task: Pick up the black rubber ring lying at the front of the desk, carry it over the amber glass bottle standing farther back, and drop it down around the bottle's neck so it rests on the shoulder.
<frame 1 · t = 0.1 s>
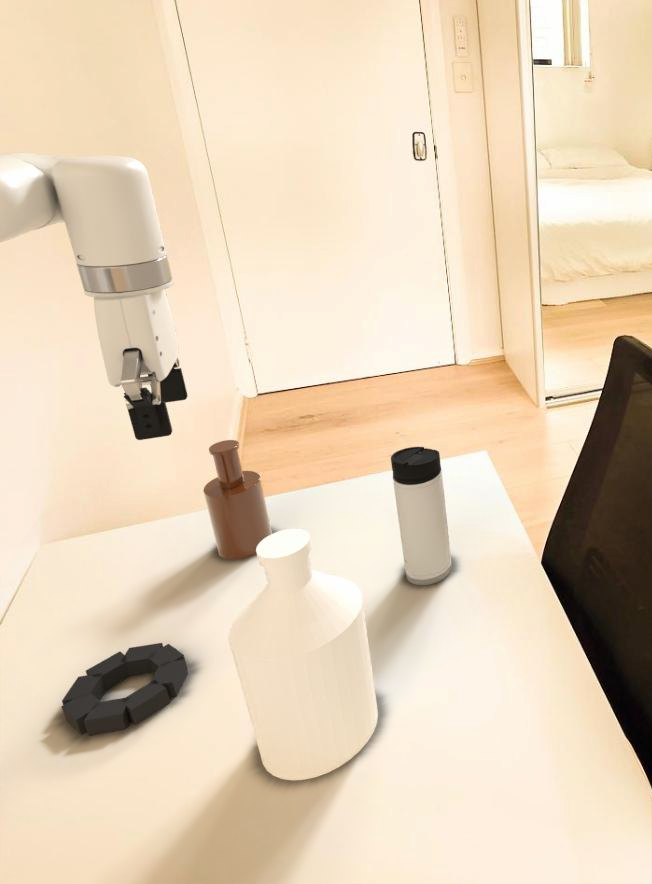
hand: (163, 417, 79), 30 cm above the table, tool pointing down, fingers open, 9 cm apart
bottle: (322, 733, 75), on the table
rubber ring: (130, 695, 79), on the table
amber bottle: (246, 545, 104), on the table
travel mug: (428, 573, 100), on the table
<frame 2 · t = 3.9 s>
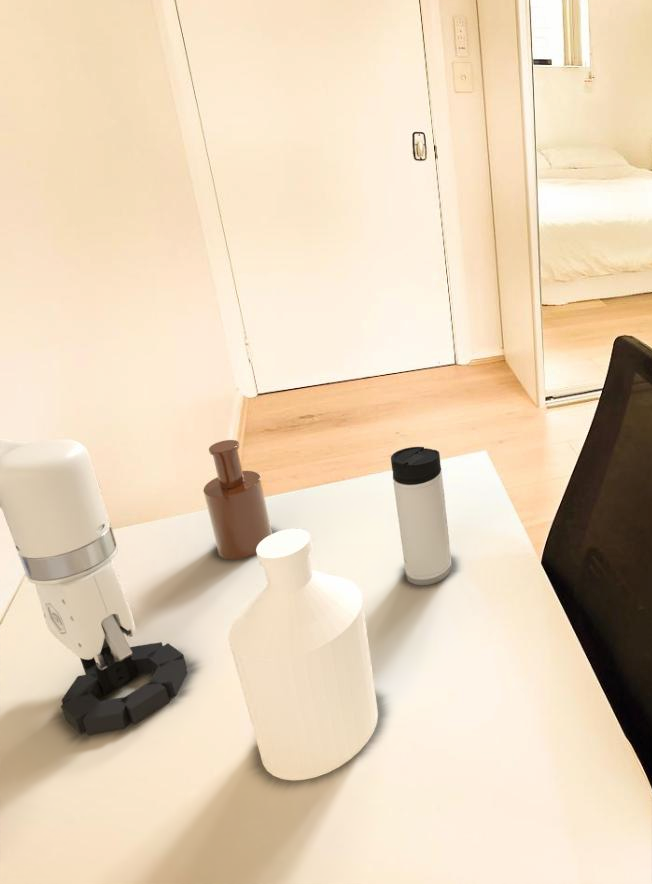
hand: (112, 679, 81), 0 cm above the table, tool pointing down, fingers closed on rubber ring, 2 cm apart
rubber ring: (129, 694, 79), on the table, touching gripper
everything else where it was.
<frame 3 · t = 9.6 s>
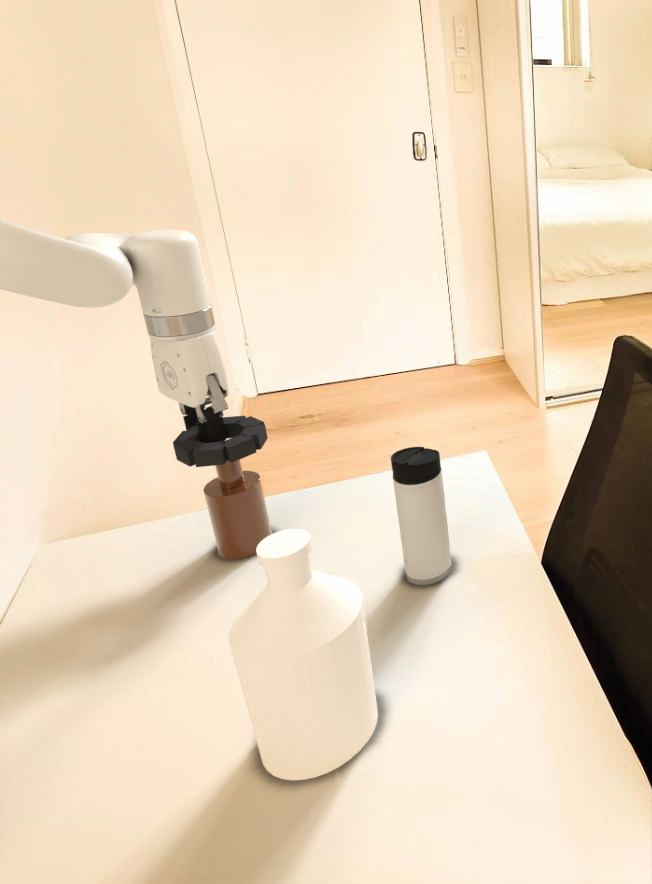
hand: (208, 439, 100), 17 cm above the table, tool pointing down, fingers closed on rubber ring, 2 cm apart
rubber ring: (223, 447, 99), point 17 cm above the table, touching gripper
everything else where it was.
when the fingers open (19 cm above the table, at t = 12.9 s): rubber ring drops 7 cm, resting on amber bottle.
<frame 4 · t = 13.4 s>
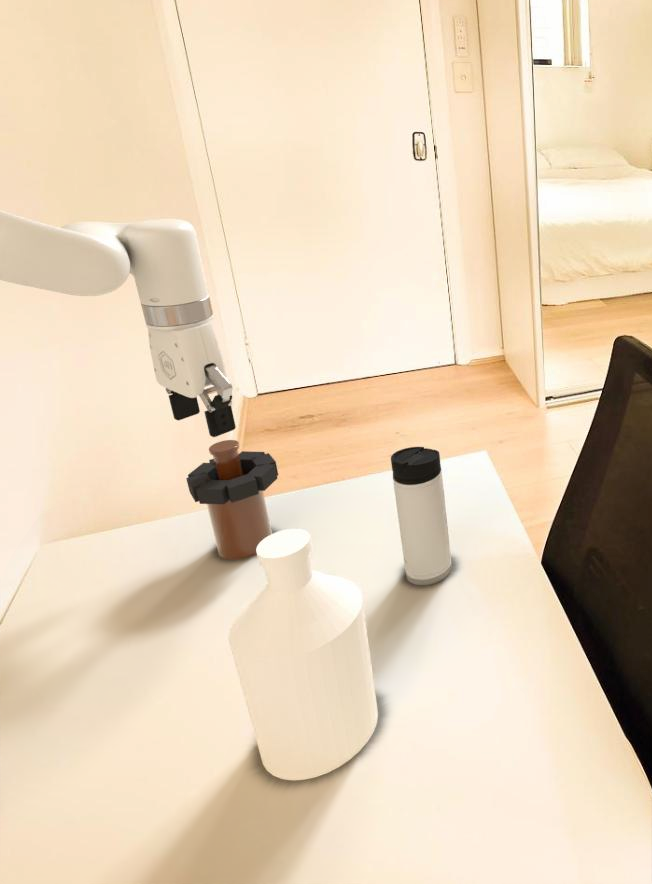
hand: (205, 424, 99), 20 cm above the table, tool pointing down, fingers open, 8 cm apart
rubber ring: (235, 483, 100), point 11 cm above the table, touching amber bottle
everything else where it was.
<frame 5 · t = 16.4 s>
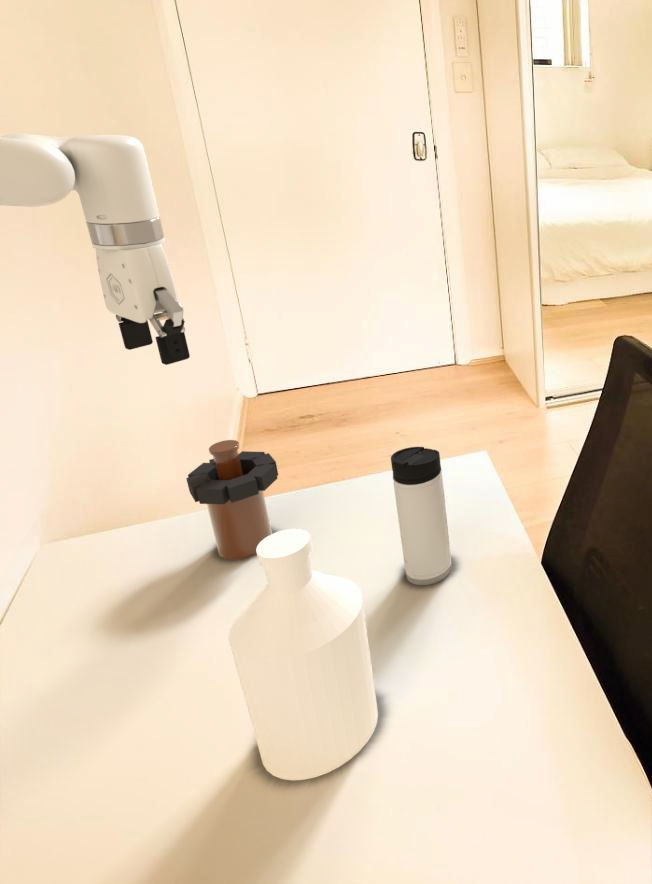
hand: (157, 353, 96), 30 cm above the table, tool pointing down, fingers open, 9 cm apart
nothing on the table moved.
at the end: rubber ring 0.5 cm off-centre on the amber bottle, point 11.0 cm above the amber bottle's base; the gripper is holding nothing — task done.
